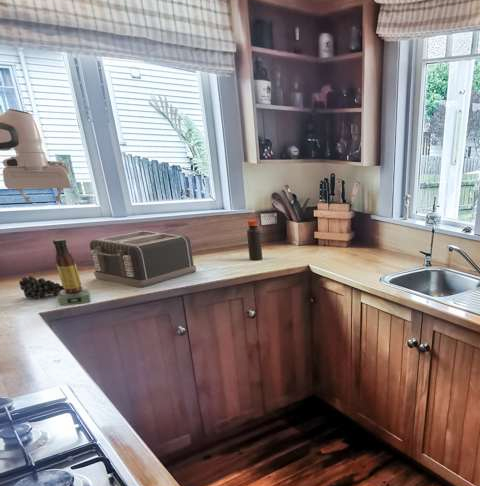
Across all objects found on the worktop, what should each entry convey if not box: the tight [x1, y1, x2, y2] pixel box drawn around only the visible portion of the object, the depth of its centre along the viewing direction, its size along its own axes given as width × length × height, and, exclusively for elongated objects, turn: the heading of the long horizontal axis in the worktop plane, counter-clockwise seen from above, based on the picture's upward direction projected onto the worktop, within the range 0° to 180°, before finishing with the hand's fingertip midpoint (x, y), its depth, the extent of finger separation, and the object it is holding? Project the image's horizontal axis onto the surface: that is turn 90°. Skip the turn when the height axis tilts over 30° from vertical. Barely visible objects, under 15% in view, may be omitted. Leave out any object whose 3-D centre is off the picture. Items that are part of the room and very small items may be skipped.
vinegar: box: [246, 219, 263, 261], centre depth 245 cm, size 7×7×20 cm
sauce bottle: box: [52, 238, 83, 292], centre depth 176 cm, size 6×6×20 cm
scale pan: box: [59, 286, 88, 296], centre depth 181 cm, size 9×9×1 cm
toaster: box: [89, 230, 197, 289], centre depth 211 cm, size 30×36×17 cm
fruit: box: [18, 275, 64, 300], centre depth 184 cm, size 9×8×15 cm
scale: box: [57, 287, 92, 306], centre depth 181 cm, size 10×11×3 cm
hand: (43, 201), depth 172 cm, fingers open, 8 cm apart
